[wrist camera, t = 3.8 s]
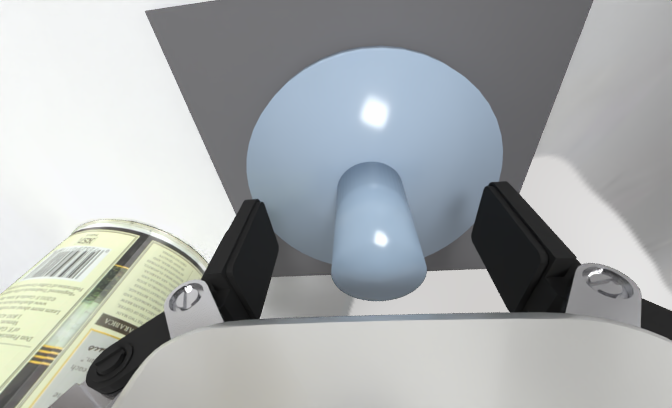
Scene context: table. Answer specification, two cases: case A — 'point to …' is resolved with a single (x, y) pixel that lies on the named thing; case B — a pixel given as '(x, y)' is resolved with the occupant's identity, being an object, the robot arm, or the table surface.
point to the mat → (355, 31)
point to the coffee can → (84, 305)
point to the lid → (374, 164)
